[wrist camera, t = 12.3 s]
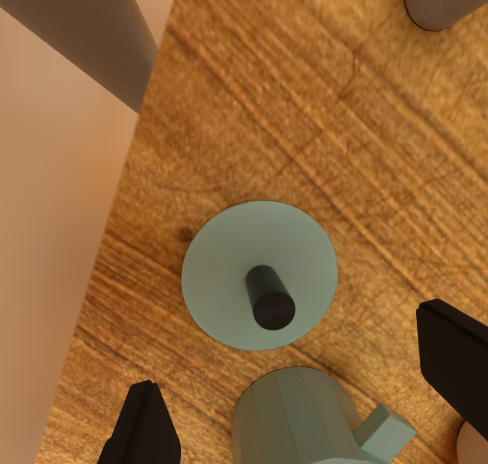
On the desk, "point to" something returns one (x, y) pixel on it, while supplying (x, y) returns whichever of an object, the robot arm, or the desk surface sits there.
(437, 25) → the grey tube
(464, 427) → the decorative egg
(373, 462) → the pot
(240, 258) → the lid
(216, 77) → the desk surface
